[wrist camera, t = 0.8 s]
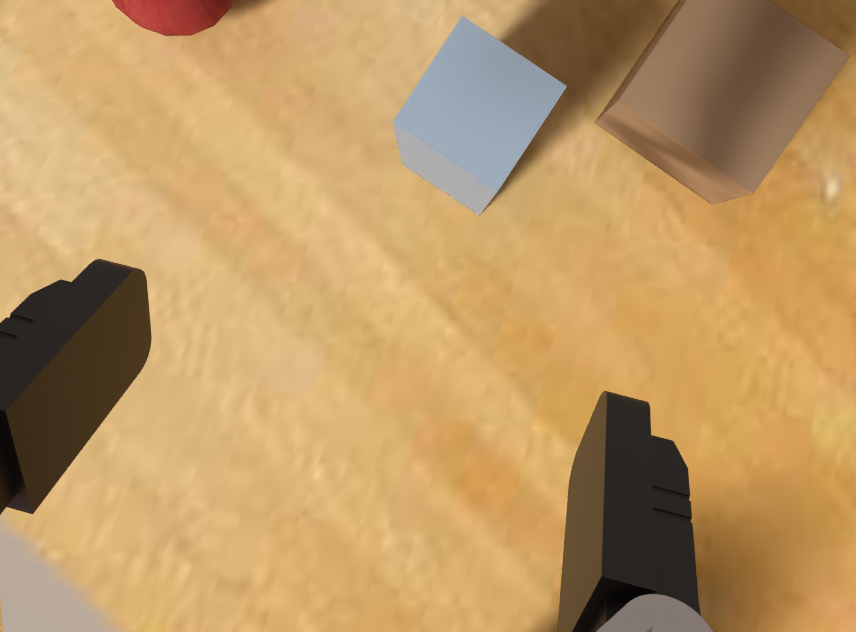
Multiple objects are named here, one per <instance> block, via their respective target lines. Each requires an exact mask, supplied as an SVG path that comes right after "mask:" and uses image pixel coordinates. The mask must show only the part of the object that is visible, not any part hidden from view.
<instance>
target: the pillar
mask: <svg viewBox="0 0 856 632" xmlns="http://www.w3.org/2000/svg"><path fill="white" fill-rule="evenodd" d="M566 87H567V86H566V85H565V84H563V83H562V82H560V81H559V80H557V79H556V78H554V77H553V76H551V75H550V74H548V73H547V72H545V71H544V70H542V69H541V68H539V67H538V66H536V65H535V64H533V63H532V62H530V61H529V60H527V59H526V58H524V57H523V56H521V55H520V54H518V53H517V52H515V51H514V50H512V49H511V48H509V47H508V46H506V45H505V44H503V43H502V42H501V41H499V40H498V39H496V38H495V37H493V36H492V35H490V34H489V33H487V32H486V31H484V30H483V29H481V28H480V27H478V26H477V25H475V24H474V23H472V22H471V21H469V20H468V19H466V18H465V17H463V16H462V17H461V18H460V20H459V22H458V23H457V25H456V26H455V28H454V29H453V31H452V32H451V34H450V35H449V37H448V38H447V40H446V41H445V43H444V45H443V46H442V48H441V49H440V51H439V52H438V54H437V55H436V57H435V58H434V60H433V61H432V63H431V64H430V66H429V68H428V69H427V71H426V72H425V74H424V75H423V77H422V78H421V80H420V81H419V83H418V84H417V86H416V87H415V89H414V91H413V92H412V94H411V95H410V97H409V98H408V100H407V101H406V103H405V104H404V106H403V107H402V109H401V111H400V112H399V114H398V115H397V117H396V118H395V120H394V121H393V125H394V130H395V134H396V139H397V143H398V148H399V152H400V157H401V161H402V165H404V166H405V167H407V168H408V169H410V170H411V171H413V172H414V173H416V174H418V175H419V176H421V177H422V178H424V179H425V180H427V181H428V182H430V183H431V184H433V185H434V186H436V187H437V188H439V189H440V190H442V191H443V192H445V193H446V194H448V195H449V196H451V197H452V198H454V199H455V200H457V201H458V202H460V203H461V204H463V205H464V206H466V207H467V208H469V209H470V210H472V211H473V212H475V213H476V214H478V215H480V214H481V213H482V211H483V210H484V209H485V207H486V206H487V205H488V203H489V202H490V201H491V200H492V198H493V197H494V196H495V194H496V193H497V192H498V190H499V189H500V187H501V186H502V184H503V183H504V181H505V180H506V178H507V177H508V175H509V174H510V172H511V171H512V169H513V168H514V166H515V165H516V163H517V161H518V160H519V158H520V157H521V155H522V154H523V152H524V151H525V149H526V148H527V146H528V145H529V143H530V142H531V140H532V139H533V137H534V136H535V134H536V133H537V131H538V130H539V128H540V127H541V125H542V124H543V122H544V121H545V119H546V118H547V116H548V115H549V113H550V112H551V110H552V108H553V107H554V105H555V104H556V102H557V101H558V99H559V98H560V96H561V95H562V93H563V92H564V90H565V89H566Z"/></svg>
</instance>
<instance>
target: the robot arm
mask: <svg viewBox="0 0 856 632" xmlns="http://www.w3.org/2000/svg"><path fill="white" fill-rule="evenodd" d="M150 347H151V325H150V314H149V302H148V291H147V280H146V276H145V273H144V272H143V271H142V270H141V269H137V268H133V267H129V266H126V265H122V264H118V263H114V262H110V261H106V260H102V259H97V260H95V261H93V262H92V263H90V264H89V265H88V266H87V267H86V268H85V269H84V270H83V271H82V272H81V273H80V274H79V275H78V276H77V277H76V278H75V279H74V280H73V281H72V282H68V281H65V280H59V281H57V282H55V283H53V284H50V285H48V286H46V287H44V288H42V289H40V290H38V291H36V292H34V293H32V294H31V295H29V296H28V297H27V298H26V299H25V300H24V301H23V302H22V303H21V304H20V305H19V306H18V307H17V308H16V309H15V310H14V311H13V312H12V313H11V315H10V317H9V318H7V317H6V318H5V319H4V320H3V321H2V322H1V323H0V514H1V513H2V512H3V510H4V509H5V508H6V507H9V508H12V509H16V510H20V511H23V512H27V513H30V514H33V513H34V512H35V511H36V509H37V508H38V507H39V505H40V504H41V503H42V501H43V500H44V499H45V497H46V496H47V495H48V493H49V492H50V491H51V489H52V488H53V487H54V485H55V484H56V483H57V481H58V480H59V479H60V477H61V476H62V475H63V474H64V472H65V471H66V470H67V468H68V467H69V466H70V464H71V463H72V462H73V460H74V459H75V458H76V456H77V455H78V454H79V452H80V451H81V450H82V448H83V447H84V446H85V444H86V443H87V442H88V440H89V439H90V438H91V436H92V435H93V434H94V432H95V431H96V430H97V428H98V427H99V426H100V424H101V423H102V422H103V421H104V419H105V418H106V417H107V415H108V414H109V413H110V411H111V410H112V409H113V407H114V406H115V405H116V403H117V402H118V401H119V399H120V398H121V397H122V395H123V394H124V393H125V391H126V390H127V389H128V387H129V386H130V385H131V383H132V382H133V381H134V379H135V378H136V377H137V375H138V374H139V373H140V371H141V370H142V368H143V367H144V365H145V362H146V360H147V358H148V355H149V351H150ZM689 497H690V489H689V477H688V468H687V466H686V464H685V462H684V460H683V458H682V456H681V455H680V453H679V451H678V449H677V447H676V445H675V443H674V442H673V441H671V440H668V439H664V438H660V437H656V436H652V435H651V422H650V406H649V403H648V402H646V401H642V400H638V399H634V398H631V397H627V396H623V395H619V394H615V393H611V392H607V391H604V392H603V393H602V394H601V396H600V398H599V400H598V402H597V405H596V407H595V409H594V412H593V414H592V416H591V419H590V421H589V424H588V426H587V428H586V431H585V433H584V435H583V438H582V440H581V443H580V445H579V447H578V450H577V452H576V455H575V459H574V462H573V466H572V470H571V475H570V480H569V489H568V502H567V514H566V527H565V540H564V553H563V566H562V579H561V592H560V604H559V617H558V630H557V632H713V631H712V630H711V628H710V627H709V625H708V624H707V623H706V621H705V620H704V619H703V618H702V617H701V614H700V609H699V601H698V589H697V576H696V564H695V551H694V539H693V527H692V523H691V518H692V514H691V502H690V501H689ZM0 632H3V626H2V612H1V599H0Z"/></svg>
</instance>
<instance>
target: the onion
mask: <svg viewBox="0 0 856 632" xmlns="http://www.w3.org/2000/svg"><path fill="white" fill-rule="evenodd" d="M112 1H113V3H114V4H115V6H116V7H117V8H118V9H119V10H120V11H122V12H123V13H124V14H125V15H126V16H128V17H129V18H130V19H131V20H132V21H133V22H135V23H136V24H138V25H139V26H141V27H143V28H145V29H148V30H151V31H154V32H157V33H159V34H162V35H165V36H187V35H193V34H196V33H198V32H200V31H203V30H205V29H208V28H210V27H212V26H214V25H215V24H216V23H217V22H218V21H219V20H220V19H221V18H222V16H223V15H224V14H225V13H226V12H227V11H228V10H229V9H230V7H231V5H232V2H233V0H112Z"/></svg>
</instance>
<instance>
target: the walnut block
mask: <svg viewBox="0 0 856 632" xmlns="http://www.w3.org/2000/svg"><path fill="white" fill-rule="evenodd" d="M848 58H849V55H847V54H846V53H845V52H843V51H842V50H840V49H839V48H838V47H836V46H835V45H833V44H832V43H830V42H829V41H828V40H826V39H825V38H823V37H822V36H821V35H819V34H818V33H816V32H815V31H813V30H812V29H811V28H809V27H808V26H806V25H805V24H804V23H802V22H801V21H799V20H798V19H797V18H795V17H794V16H792V15H791V14H789V13H788V12H787V11H785V10H784V9H782V8H781V7H780V6H778V5H777V4H775V3H774V2H772V1H771V0H679V1H678V2H677V4H676V5H675V7H674V8H673V9H672V11H671V12H670V14H669V15H668V17H667V18H666V20H665V21H664V23H663V24H662V25H661V27H660V28H659V30H658V31H657V33H656V34H655V36H654V37H653V39H652V40H651V41H650V43H649V44H648V46H647V47H646V49H645V50H644V52H643V53H642V55H641V56H640V57H639V59H638V60H637V62H636V63H635V65H634V66H633V68H632V69H631V71H630V72H629V73H628V75H627V76H626V78H625V79H624V81H623V82H622V84H621V85H620V87H619V88H618V89H617V91H616V92H615V94H614V95H613V97H612V98H611V100H610V101H609V103H608V104H607V105H606V107H605V108H604V110H603V111H602V113H601V114H600V116H599V117H598V119H597V120H596V121H595V124H597V125H598V126H599V127H601V128H602V129H604V130H605V131H607V132H608V133H609V134H611V135H612V136H614V137H615V138H617V139H618V140H620V141H621V142H622V143H624V144H625V145H627V146H628V147H630V148H631V149H632V150H634V151H635V152H637V153H638V154H640V155H641V156H643V157H644V158H645V159H647V160H648V161H650V162H651V163H653V164H654V165H655V166H657V167H658V168H660V169H661V170H663V171H664V172H666V173H667V174H668V175H670V176H671V177H673V178H674V179H676V180H677V181H678V182H680V183H681V184H683V185H684V186H686V187H687V188H689V189H690V190H691V191H693V192H694V193H696V194H697V195H699V196H700V197H701V198H703V199H704V200H706V201H707V202H709V203H710V204H712V205H713V204H717V203H721V202H724V201H728V200H732V199H736V198H739V197H743V196H747V195H750V194H754V192H755V191H756V189H757V188H758V187H759V185H760V184H761V182H762V181H763V179H764V178H765V177H766V175H767V174H768V172H769V171H770V169H771V168H772V167H773V165H774V164H775V162H776V161H777V159H778V158H779V157H780V155H781V154H782V152H783V151H784V149H785V148H786V147H787V145H788V144H789V142H790V141H791V139H792V138H793V137H794V135H795V134H796V132H797V131H798V129H799V128H800V127H801V125H802V124H803V122H804V121H805V119H806V118H807V116H808V115H809V114H810V112H811V111H812V109H813V108H814V106H815V105H816V104H817V102H818V101H819V99H820V98H821V96H822V95H823V94H824V92H825V91H826V89H827V88H828V86H829V85H830V84H831V82H832V81H833V79H834V78H835V76H836V75H837V74H838V72H839V71H840V69H841V68H842V66H843V65H844V64H845V62H846V61H847V59H848Z"/></svg>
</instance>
